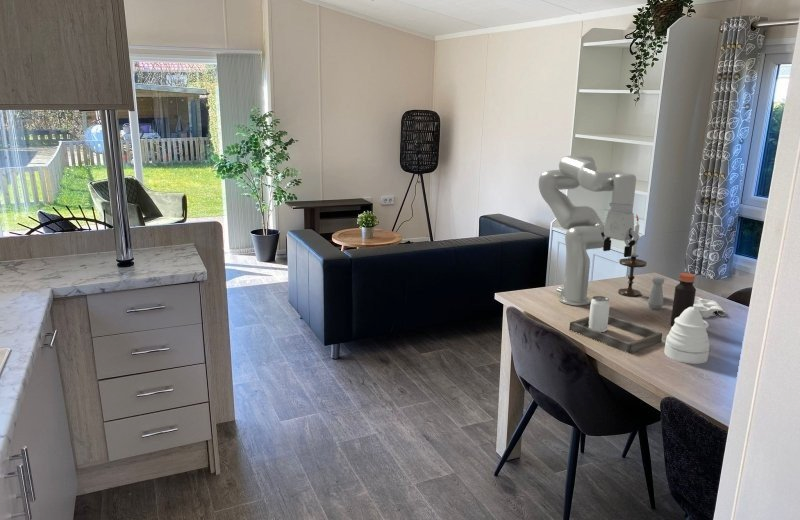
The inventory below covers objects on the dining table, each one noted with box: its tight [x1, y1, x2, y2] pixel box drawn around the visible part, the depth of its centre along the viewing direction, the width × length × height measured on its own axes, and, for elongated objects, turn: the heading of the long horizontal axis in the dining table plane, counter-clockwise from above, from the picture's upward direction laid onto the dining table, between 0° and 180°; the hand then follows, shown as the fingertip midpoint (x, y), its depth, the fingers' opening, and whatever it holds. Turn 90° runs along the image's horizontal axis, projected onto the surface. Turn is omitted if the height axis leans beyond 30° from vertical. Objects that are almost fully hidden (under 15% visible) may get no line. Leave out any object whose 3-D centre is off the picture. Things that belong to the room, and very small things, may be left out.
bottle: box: [669, 272, 697, 327], centre depth 214 cm, size 7×7×20 cm
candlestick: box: [618, 213, 647, 298], centre depth 250 cm, size 11×11×35 cm
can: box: [588, 295, 611, 333], centre depth 212 cm, size 6×6×12 cm
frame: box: [568, 315, 663, 354], centre depth 207 cm, size 25×18×3 cm
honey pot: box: [664, 304, 710, 365], centre depth 190 cm, size 13×13×18 cm
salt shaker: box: [647, 276, 665, 311], centre depth 235 cm, size 6×6×13 cm
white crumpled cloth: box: [694, 296, 727, 319], centre depth 234 cm, size 3×18×15 cm
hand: (616, 253), depth 216 cm, fingers open, 9 cm apart
